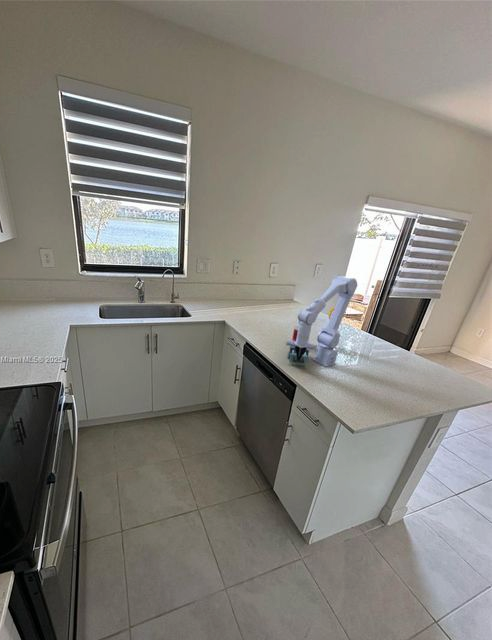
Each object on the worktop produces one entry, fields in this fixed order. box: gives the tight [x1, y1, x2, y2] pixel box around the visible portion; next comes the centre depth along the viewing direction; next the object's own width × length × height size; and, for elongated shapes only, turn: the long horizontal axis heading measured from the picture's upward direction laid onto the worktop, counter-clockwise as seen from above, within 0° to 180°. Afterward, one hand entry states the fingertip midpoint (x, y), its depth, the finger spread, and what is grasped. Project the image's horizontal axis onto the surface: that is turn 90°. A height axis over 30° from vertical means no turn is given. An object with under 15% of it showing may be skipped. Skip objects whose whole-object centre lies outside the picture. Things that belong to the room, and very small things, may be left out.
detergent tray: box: [288, 349, 309, 366], centre depth 148 cm, size 13×8×5 cm, turn 165°
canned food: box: [291, 325, 299, 341], centre depth 170 cm, size 8×8×11 cm
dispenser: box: [287, 346, 310, 360], centre depth 156 cm, size 10×10×7 cm
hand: (298, 360), depth 144 cm, fingers closed, pressing on detergent tray
